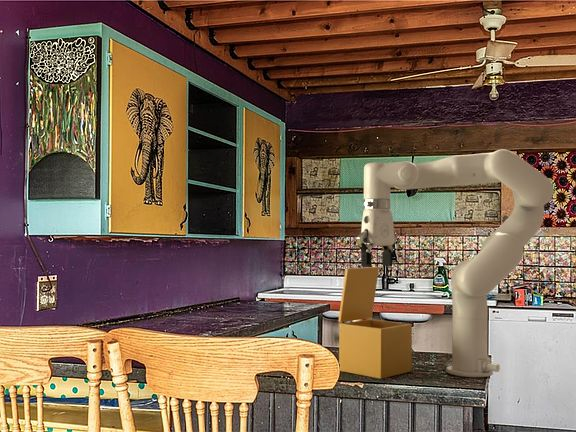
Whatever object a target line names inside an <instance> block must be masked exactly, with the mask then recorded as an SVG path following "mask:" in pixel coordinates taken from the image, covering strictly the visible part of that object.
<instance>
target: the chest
mask: <svg viewBox="0 0 576 432" xmlns="http://www.w3.org/2000/svg"><path fill="white" fill-rule="evenodd" d="M338 325H339V328H338V329H339V330H338V337H339V339H338V365H339V364H340V371H339V372H344V373H349V374H355V375H358V376H359V375H360V376H365V377H369V378H374V379H379V380H381V379H385V378H390V377H394V376H398V375H402V374H407V373H410V372H412V369H413V368H412V367H413V366H412V365H413V360H412V359H413V324H412V323H406V322H398V321H397V322H396V321H389V320H379V319H374V318H372V319H369V320H362V321H354V322H353V321H346V322H339V324H338Z"/></svg>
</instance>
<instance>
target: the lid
mask: <svg viewBox="0 0 576 432" xmlns="http://www.w3.org/2000/svg"><path fill="white" fill-rule="evenodd" d="M379 269H380V266H371V267H347V268H345V269H344V270H343V272H342V274H343V276H344V278H343V284H342V285H343V286H342V293H341V299H340V308H339V314H338V320H337V321H338V323H347V322H353V320H361V319H368V318H372V319H373V312H374V306H375V305H374V304H375V298H376V293H377V292H376V291H377V284H378V278H379V272H380V270H379Z"/></svg>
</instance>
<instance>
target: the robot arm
mask: <svg viewBox="0 0 576 432" xmlns="http://www.w3.org/2000/svg"><path fill="white" fill-rule="evenodd" d="M494 183H502V184H503V185H504V186H506V187H507V188H508V189H509V190H511V191H512V199H513V204H514V205H513V210H512V212H511V214H510V215H509V216H508V217H507V218H506V219H505V220H504V221H503V223H502V224H501V225H499V227H497V228H496V229H495V230H494V231H493V232H491V234H490V235H489V236H487V237H486V238H485V239H484V241H482V244H481V246H480V251H479V252H478V253H477V254H476V255H475V256H474V257H473V258H471V259H466V260H462V261H460V262H459V263H457V264H456V265H455V267H454V268H453V270H452V272H451V275H450V276H451V277H450V287H451V301H452V302H451V303H452V323H451V324H452V325H451V326H452V327H451V328H452V329H451V330H452V331H451V333H452V334H451V335H452V337H451V338H452V339H451V340H452V341H451V365H447V367H446V373H448V374H450V375H453V376H456V377H457V376H458V377H464V378H487V377H491V376H493V375H494V372H495V373H496V372H497V373H499V372H500V370H501V367H500V366H501V365H500V363H494V362H492V361H491V360H492V358H491V357H488V318H489V317H488V315H489V313H488V311H489V309H488V295H487V294H489V293H491V292H492V291H493V290H494V289H495V288H496V287H497V286H499V285H500V284H501V282H503V281H504V279H506V277H508V276H509V275H510V274H511V273H512V272H513V271H514V270H515V269H516V267H518V265H519V264H520V263H521V261H522V259H523V256H524V247H525V246H526V245H527V244H528V243H529V242H530V241H531V240H532V238H534V236H535V235H536V234H537V233H538V231H539V230H540V228H541V226H542V225H543V221H544V216H545V205H546V204H548V203H549V202H550V201H551V200H552V198H553V196H554V193H555V192H554V191H555V189H554V185H553V183H552V182H551V180H550V179H549V178H548V177H547V176H546V175H545V174H544V173H542V172H541V171H539V170H538V168H536V167H534V166H532V165H531V164H530V163H529V162H527V161H526V160H525V159H523V158H522V157H520V156H519V155H518V154H516V153H515V152H514V151H511V150H509V149H506V148H505V149H504V148H503V149H502V148H501V149H498V150H495V151H493V152H486V153H485V152H484V153H474V154H461V155H451V156H446V157H444V158H440V159H437V160H433V161H426V162H419V163H413V162H412V161H407V160H401V161H395V162H381V161H377V162H374V161H373V162H368V163H366V164H364V167H363V212H362V217H361V229H360V231H361V232H360V234H358V235H357V236H356V242H357V247H358V249H359V252H360V253H361V254H360V260H361V261H360V266H361V268H365V267H373V266H372V265H373V262H372V260H373V257H372V254H373V253H372V252H371V251H372V249H373V247H374V246H376V247H381V249H382V252H381V265H382V266H383V267H392V266H393V252H394V249H395V246H396V242H397V236H396V235H395V227H394V218H393V212H392V210H391V188H392V187H393V188H395V189H397V190H402V191H403V190H404V191H406V190H416V189H428V188H429V189H430V188H443V187H444V188H448V187H459V186H469V185H481V184H482V185H483V184H494Z"/></svg>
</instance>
